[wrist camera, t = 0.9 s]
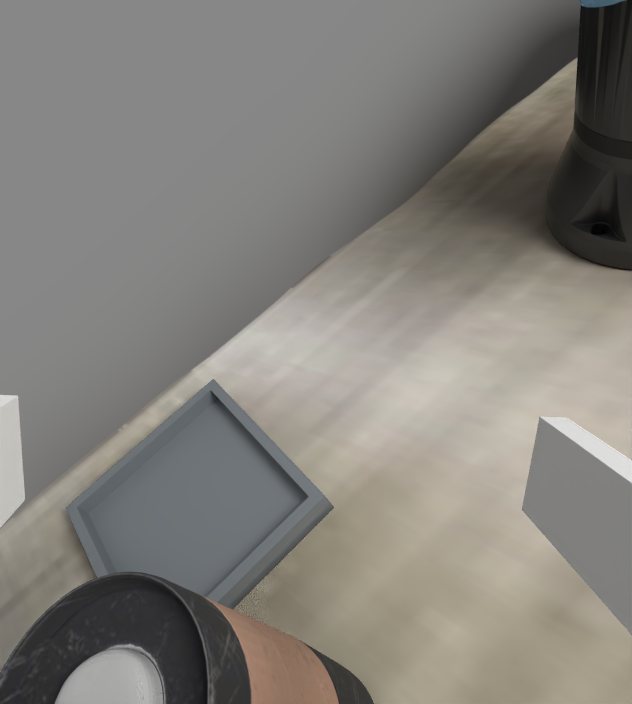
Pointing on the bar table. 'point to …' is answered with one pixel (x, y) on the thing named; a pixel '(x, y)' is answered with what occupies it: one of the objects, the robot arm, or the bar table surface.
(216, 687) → the travel mug
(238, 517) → the tray
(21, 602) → the bar table surface
